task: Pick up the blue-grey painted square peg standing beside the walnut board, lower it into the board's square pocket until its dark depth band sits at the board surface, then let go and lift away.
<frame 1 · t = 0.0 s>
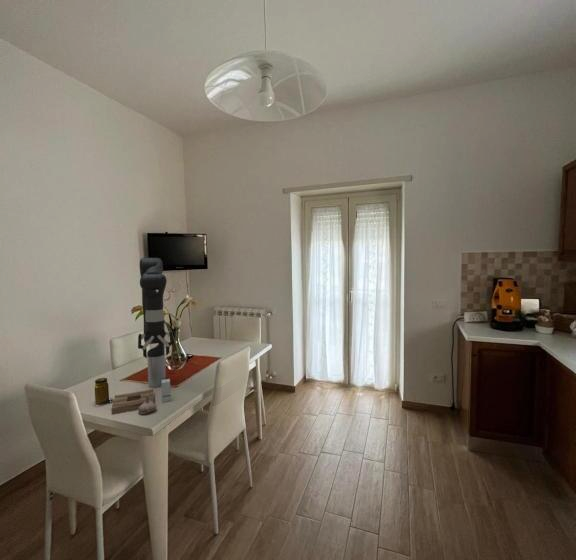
hand: (156, 356, 136), 29 cm above the table, tool pointing down, fingers open, 8 cm apart
condiment: (104, 402, 157), on the table
peg: (166, 399, 159), on the table
garlic bulb: (147, 412, 146), on the table
board: (134, 403, 155), on the table
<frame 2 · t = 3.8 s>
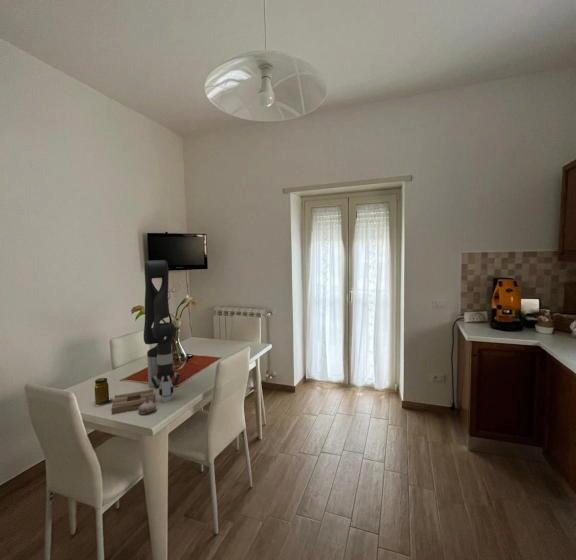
hand: (166, 394, 159), 3 cm above the table, tool pointing down, fingers closed on peg, 4 cm apart
peg: (166, 399, 159), on the table, touching gripper
everything else where it was.
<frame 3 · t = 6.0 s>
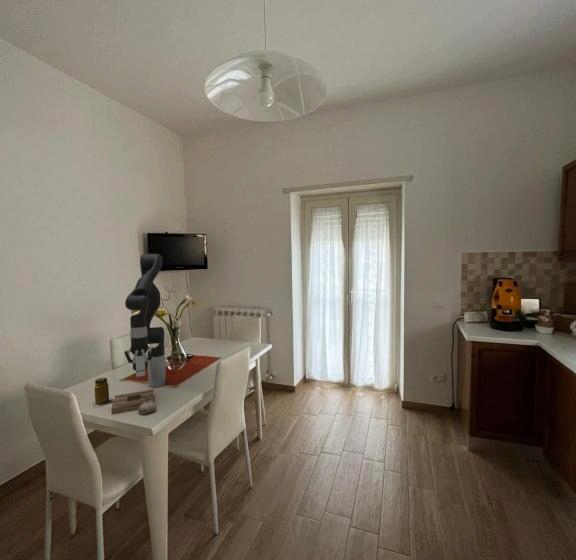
hand: (140, 369, 154), 17 cm above the table, tool pointing down, fingers closed on peg, 4 cm apart
peg: (140, 374, 155), point 14 cm above the table, touching gripper
everything else where it was.
when the fingers open (4 cm above the table, at t = 8.6 s): peg stays where it is, resting on board.
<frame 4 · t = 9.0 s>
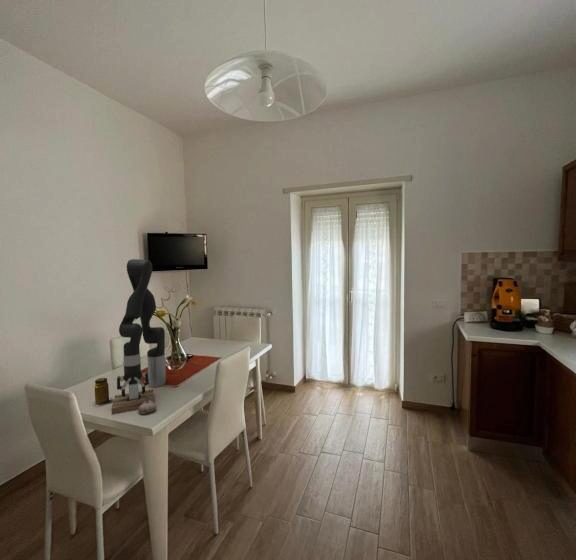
hand: (133, 395, 154), 5 cm above the table, tool pointing down, fingers open, 8 cm apart
peg: (134, 402, 155), resting on board
everything else where it was.
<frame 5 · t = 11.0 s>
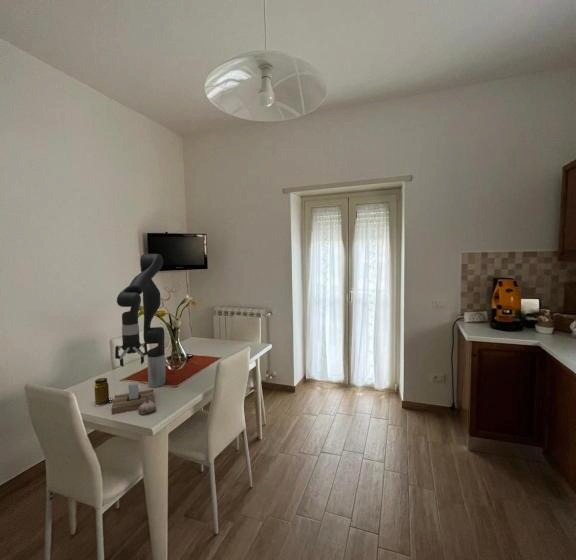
hand: (132, 365, 153), 20 cm above the table, tool pointing down, fingers open, 8 cm apart
nothing on the table moved.
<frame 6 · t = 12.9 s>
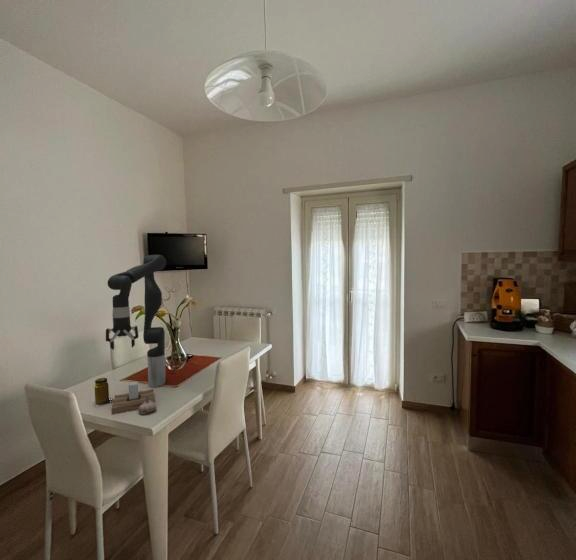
hand: (122, 348, 154), 28 cm above the table, tool pointing down, fingers open, 8 cm apart
nothing on the table moved.
at the end: peg 0.1 cm off-centre on the board, point 0.5 cm above the board's base; peg tilted 0°; the gripper is holding nothing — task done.
